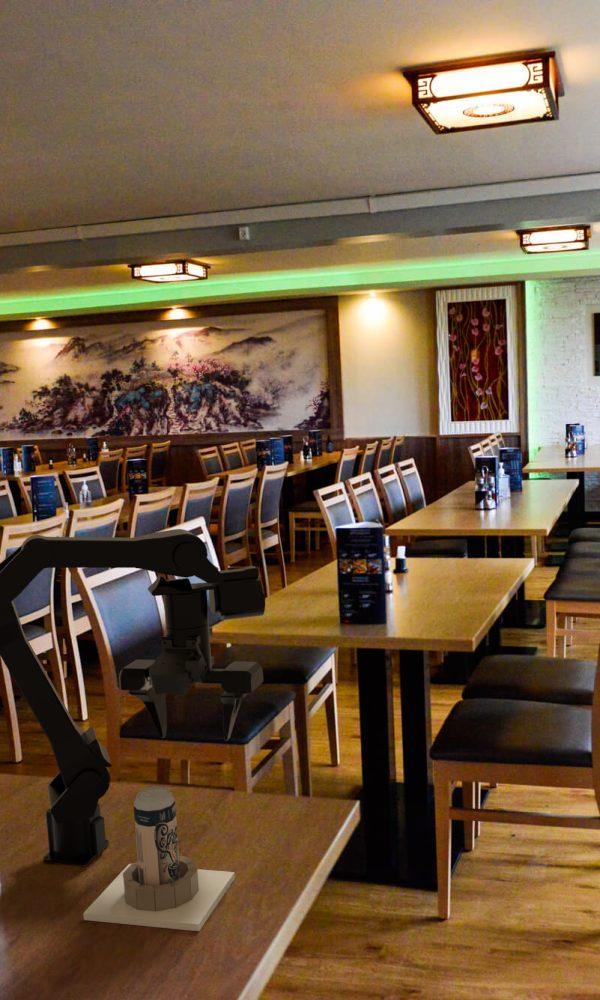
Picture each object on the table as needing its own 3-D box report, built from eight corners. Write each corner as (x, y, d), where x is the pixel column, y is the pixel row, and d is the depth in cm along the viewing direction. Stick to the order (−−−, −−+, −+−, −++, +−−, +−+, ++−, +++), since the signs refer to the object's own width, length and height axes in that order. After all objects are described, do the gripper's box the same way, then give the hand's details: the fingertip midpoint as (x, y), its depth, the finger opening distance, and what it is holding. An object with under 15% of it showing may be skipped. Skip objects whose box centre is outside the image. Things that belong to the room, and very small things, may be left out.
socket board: (84, 919, 111) (81, 892, 110) (129, 869, 122) (127, 844, 122) (198, 931, 107) (197, 902, 107) (234, 878, 118) (233, 852, 118)
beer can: (174, 902, 112) (166, 802, 111) (134, 901, 113) (126, 801, 111) (186, 882, 116) (179, 785, 115) (148, 881, 117) (141, 785, 116)
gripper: (95, 638, 124) (104, 756, 126) (233, 640, 119) (241, 763, 121) (132, 618, 135) (140, 728, 136) (261, 619, 130) (267, 733, 131)
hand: (194, 738), depth 131 cm, fingers open, 9 cm apart
